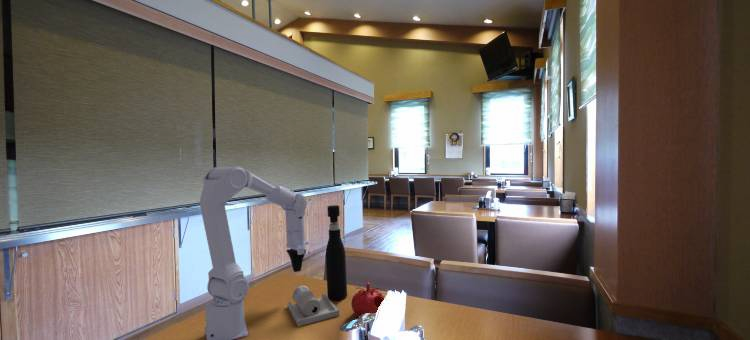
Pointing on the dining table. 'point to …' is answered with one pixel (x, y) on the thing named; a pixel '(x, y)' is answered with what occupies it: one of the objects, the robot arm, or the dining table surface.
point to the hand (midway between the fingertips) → (297, 271)
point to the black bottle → (335, 259)
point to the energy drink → (306, 301)
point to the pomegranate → (366, 301)
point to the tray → (325, 312)
